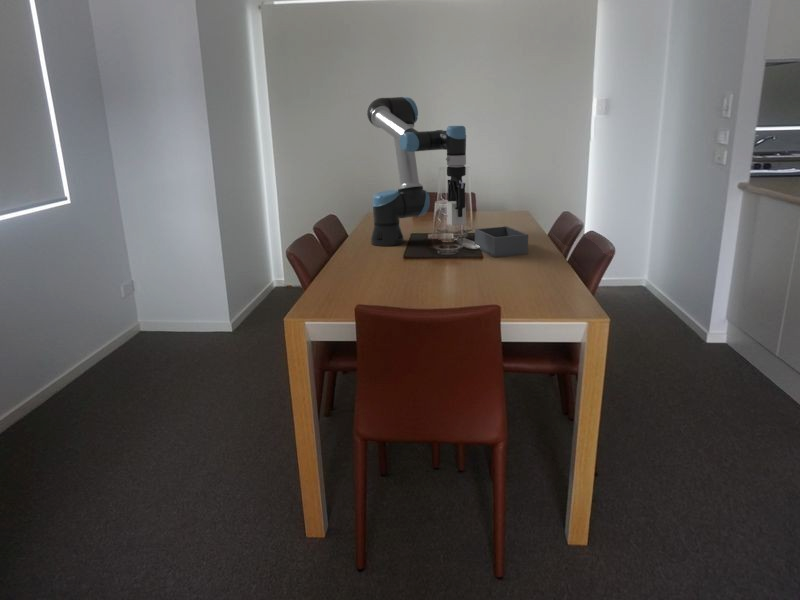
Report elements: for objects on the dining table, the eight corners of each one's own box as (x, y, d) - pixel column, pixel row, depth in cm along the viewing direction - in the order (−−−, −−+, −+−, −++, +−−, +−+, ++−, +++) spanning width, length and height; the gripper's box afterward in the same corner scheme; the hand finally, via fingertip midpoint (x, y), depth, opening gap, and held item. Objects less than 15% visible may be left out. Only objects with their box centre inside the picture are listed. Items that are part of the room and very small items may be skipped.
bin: (474, 247, 260) (474, 229, 258) (506, 244, 264) (506, 226, 262) (494, 257, 242) (494, 237, 240) (527, 253, 246) (528, 234, 243)
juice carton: (446, 223, 248) (446, 199, 245) (460, 221, 250) (460, 198, 247) (451, 225, 243) (451, 201, 240) (465, 224, 245) (465, 200, 241)
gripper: (439, 164, 247) (439, 219, 254) (456, 168, 229) (456, 228, 237) (456, 163, 249) (456, 218, 256) (474, 167, 231) (473, 226, 239)
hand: (456, 223), depth 246 cm, fingers closed on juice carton, 6 cm apart
